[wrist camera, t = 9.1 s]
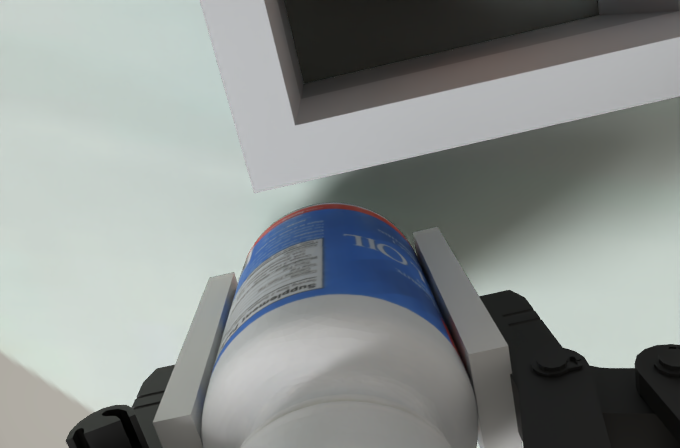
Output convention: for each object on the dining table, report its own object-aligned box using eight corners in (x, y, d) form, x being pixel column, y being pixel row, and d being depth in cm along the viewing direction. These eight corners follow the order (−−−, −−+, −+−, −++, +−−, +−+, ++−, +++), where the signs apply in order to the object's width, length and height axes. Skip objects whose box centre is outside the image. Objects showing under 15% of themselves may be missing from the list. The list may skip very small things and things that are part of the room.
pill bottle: (453, 294, 18) (600, 586, 9) (316, 386, 19) (321, 736, 10) (348, 158, 16) (396, 345, 7) (203, 265, 17) (83, 552, 8)
